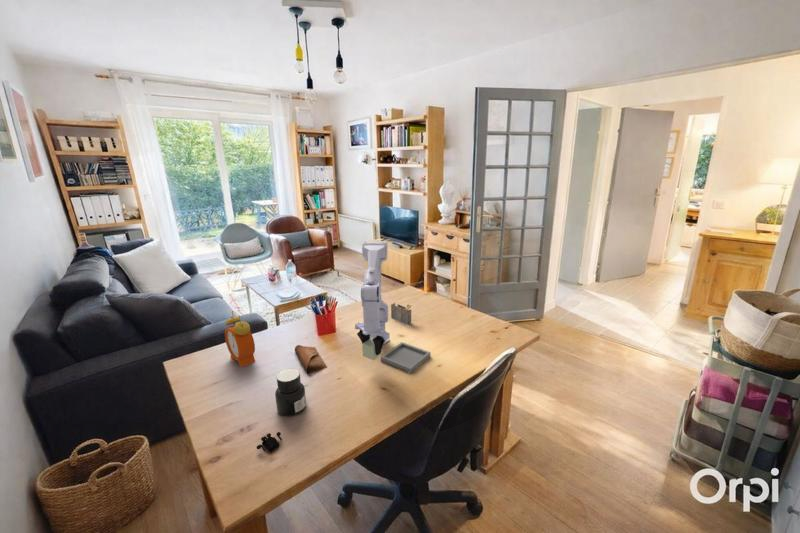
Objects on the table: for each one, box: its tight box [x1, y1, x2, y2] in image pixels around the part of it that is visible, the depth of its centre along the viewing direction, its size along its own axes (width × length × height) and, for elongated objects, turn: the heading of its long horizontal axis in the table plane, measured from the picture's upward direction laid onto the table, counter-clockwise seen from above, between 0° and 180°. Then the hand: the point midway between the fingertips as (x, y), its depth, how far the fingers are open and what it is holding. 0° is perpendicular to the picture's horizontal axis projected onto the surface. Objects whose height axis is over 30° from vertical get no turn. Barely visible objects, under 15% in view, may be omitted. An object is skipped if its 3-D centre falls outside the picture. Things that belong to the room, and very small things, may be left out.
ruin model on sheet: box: [390, 302, 412, 326], centre depth 167 cm, size 11×3×10 cm, turn 44°
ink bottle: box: [274, 368, 307, 418], centre depth 107 cm, size 10×9×12 cm
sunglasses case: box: [294, 344, 328, 374], centre depth 134 cm, size 18×7×7 cm
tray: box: [380, 341, 431, 374], centre depth 135 cm, size 14×14×2 cm
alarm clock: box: [224, 310, 256, 368], centre depth 132 cm, size 13×6×20 cm, turn 47°
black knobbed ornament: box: [256, 431, 283, 453], centre depth 94 cm, size 7×2×5 cm
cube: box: [361, 338, 383, 361], centre depth 124 cm, size 5×5×5 cm
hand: (372, 351), depth 125 cm, fingers closed on cube, 5 cm apart
